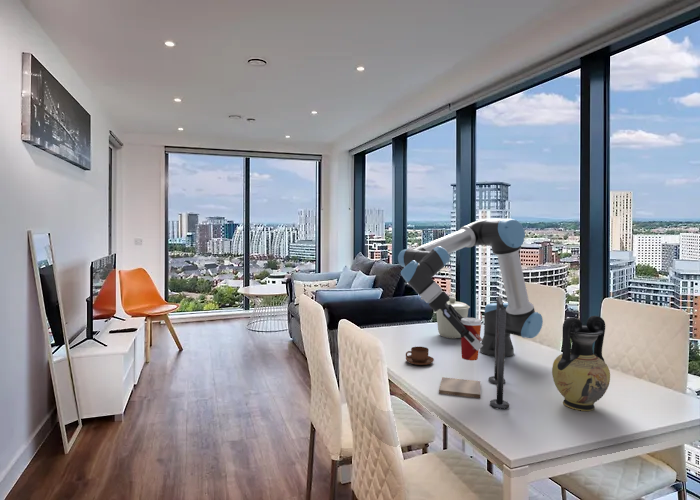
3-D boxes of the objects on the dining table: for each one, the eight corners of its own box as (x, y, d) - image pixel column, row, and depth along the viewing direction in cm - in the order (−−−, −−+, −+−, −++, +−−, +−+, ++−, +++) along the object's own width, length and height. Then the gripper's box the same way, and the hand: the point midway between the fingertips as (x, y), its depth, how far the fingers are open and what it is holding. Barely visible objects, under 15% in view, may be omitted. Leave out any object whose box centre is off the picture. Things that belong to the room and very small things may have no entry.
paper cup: (481, 362, 157) (483, 322, 157) (459, 360, 159) (460, 321, 158) (479, 355, 165) (481, 317, 164) (458, 354, 166) (459, 316, 166)
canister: (432, 338, 235) (433, 298, 233) (436, 331, 252) (437, 293, 251) (468, 342, 229) (469, 300, 228) (469, 333, 247) (470, 295, 245)
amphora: (582, 420, 138) (586, 323, 136) (539, 400, 154) (542, 313, 152) (621, 411, 145) (625, 319, 143) (576, 393, 161) (579, 309, 159)
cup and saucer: (416, 369, 186) (416, 354, 186) (400, 360, 197) (400, 346, 196) (439, 365, 191) (439, 350, 191) (422, 357, 202) (422, 343, 202)
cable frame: (488, 378, 175) (491, 294, 173) (504, 379, 174) (507, 295, 172) (490, 408, 146) (493, 308, 145) (509, 410, 145) (513, 309, 143)
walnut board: (480, 384, 168) (480, 381, 168) (480, 398, 155) (480, 394, 155) (442, 380, 172) (442, 377, 172) (438, 393, 159) (438, 390, 159)
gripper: (430, 299, 175) (472, 344, 171) (424, 309, 155) (471, 359, 152) (444, 286, 173) (487, 331, 170) (440, 294, 153) (488, 345, 150)
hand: (479, 344), depth 161 cm, fingers closed on paper cup, 8 cm apart
